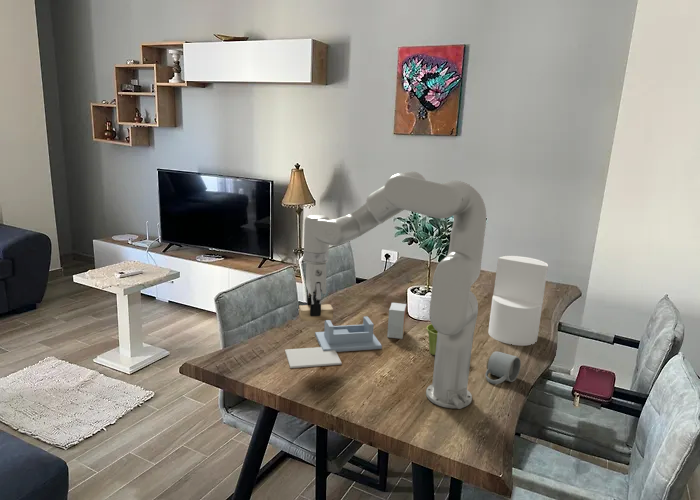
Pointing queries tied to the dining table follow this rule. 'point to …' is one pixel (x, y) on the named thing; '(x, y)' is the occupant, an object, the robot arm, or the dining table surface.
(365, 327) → the jig
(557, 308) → the dining table surface
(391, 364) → the dining table surface
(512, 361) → the ceramic mug
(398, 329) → the small box
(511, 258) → the cylinder
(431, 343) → the plant pot
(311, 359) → the mat
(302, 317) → the oak block
